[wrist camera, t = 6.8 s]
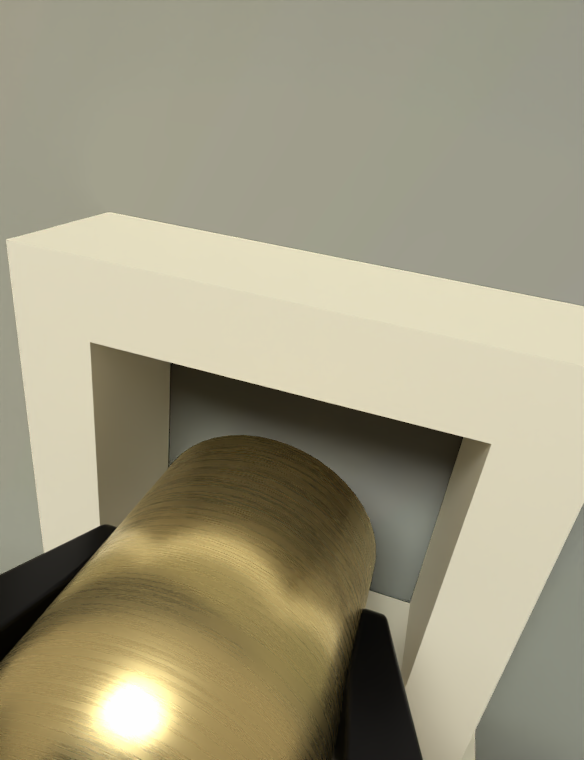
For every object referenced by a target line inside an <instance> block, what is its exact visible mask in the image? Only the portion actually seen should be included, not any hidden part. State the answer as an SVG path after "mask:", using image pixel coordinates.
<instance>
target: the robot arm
mask: <svg viewBox="0 0 584 760" xmlns="http://www.w3.org/2000/svg"><path fill="white" fill-rule="evenodd" d="M116 528H117V527H116V526H112V525H109V524H104V525H100V526H98V527H96V528H94V529H92V530H90V531H88V532H86V533H84V534H82V535H80V536H78V537H76V538H74V539H72V540H70V541H68V542H66V543H64V544H62V545H60V546H58V547H56V548H54V549H52V550H49V551H47V552H45V553H43V554H41V555H39V556H37V557H35V558H33V559H31V560H29V561H27V562H25V563H23V564H21V565H19V566H17V567H15V568H13V569H11V570H9V571H7V572H5V573H3V574H1V575H0V662H1V661H2V660H3V659H4V658H5V657H6V656H7V654H8V653H9V652H10V651H11V650H12V649H13V647H14V646H15V645H16V644H17V643H18V642H19V640H20V639H21V638H22V637H23V636H24V635H25V634H26V632H27V631H28V630H29V629H30V628H31V627H32V625H33V624H34V623H35V622H36V621H37V620H38V618H39V617H40V616H41V615H42V614H43V613H44V612H45V610H46V609H47V608H48V607H49V606H50V605H51V603H52V602H53V601H54V600H55V599H56V598H57V596H58V595H59V594H60V593H61V592H62V591H63V589H64V588H65V587H66V586H67V585H68V584H69V583H70V581H71V580H72V579H73V578H74V577H75V576H76V574H77V573H78V572H79V571H80V570H81V569H82V567H83V566H84V565H85V564H86V563H87V562H88V561H89V559H90V558H91V557H92V556H93V555H94V554H95V552H96V551H97V550H98V549H99V548H100V547H101V545H102V544H103V543H104V542H105V541H106V540H107V539H108V537H109V536H110V535H111V534H112V533H113V532H114V530H115V529H116ZM332 760H423V757H422V753H421V750H420V746H419V742H418V738H417V734H416V730H415V726H414V722H413V718H412V714H411V710H410V706H409V702H408V698H407V694H406V691H405V687H404V683H403V679H402V675H401V671H400V667H399V663H398V659H397V655H396V651H395V647H394V643H393V639H392V635H391V632H390V628H389V624H388V620H387V618H386V616H385V615H384V614H381V613H378V612H375V611H372V610H369V609H363V610H362V613H361V616H360V620H359V624H358V628H357V632H356V636H355V641H354V645H353V649H352V654H351V658H350V663H349V667H348V672H347V677H346V682H345V689H344V696H343V702H342V710H341V717H340V723H339V728H338V734H337V739H336V744H335V749H334V753H333V758H332Z"/></svg>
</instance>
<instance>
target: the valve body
mask: <svg viewBox="0 0 584 760" xmlns="http://www.w3.org/2000/svg"><path fill="white" fill-rule="evenodd" d="M6 243H7V252H8V260H9V268H10V276H11V285H12V293H13V301H14V309H15V318H16V326H17V334H18V342H19V351H20V359H21V367H22V375H23V384H24V392H25V400H26V408H27V417H28V425H29V433H30V441H31V450H32V458H33V466H34V475H35V483H36V491H37V499H38V508H39V516H40V524H41V532H42V541H43V549H44V553H45V552H47V551H49V550H52V549H54V548H56V547H58V546H60V545H62V544H64V543H66V542H68V541H70V540H72V539H74V538H76V537H78V536H80V535H82V534H84V533H86V532H88V531H90V530H92V529H94V528H96V527H98V526H100V525H104V524H109V525H112V526H116V527H118V526H119V525H120V523H121V522H122V521H123V520H124V519H125V518H126V517H127V515H128V514H129V513H130V512H131V511H132V510H133V508H134V507H135V506H136V505H137V504H138V503H139V501H140V500H141V499H142V498H143V497H144V496H145V495H146V493H147V492H148V491H149V490H150V489H151V488H152V486H153V485H154V484H155V483H156V482H157V481H158V479H159V478H160V477H161V476H162V475H163V474H164V472H165V471H166V470H167V469H168V452H169V404H170V362H171V363H174V364H178V365H182V366H186V367H190V368H194V369H198V370H202V371H206V372H210V373H214V374H218V375H222V376H226V377H230V378H234V379H237V380H241V381H245V382H249V383H253V384H257V385H261V386H265V387H269V388H273V389H277V390H281V391H285V392H289V393H293V394H297V395H300V396H304V397H308V398H312V399H316V400H320V401H324V402H328V403H332V404H336V405H340V406H344V407H348V408H352V409H356V410H360V411H364V412H367V413H371V414H375V415H379V416H383V417H387V418H391V419H395V420H399V421H403V422H407V423H411V424H415V425H419V426H423V427H427V428H430V429H434V430H438V431H442V432H446V433H450V434H454V435H458V436H462V437H463V440H462V443H461V446H460V449H459V453H458V456H457V459H456V462H455V465H454V468H453V471H452V474H451V477H450V481H449V484H448V487H447V490H446V493H445V496H444V499H443V502H442V505H441V508H440V512H439V515H438V518H437V521H436V524H435V527H434V530H433V533H432V536H431V539H430V543H429V546H428V549H427V552H426V555H425V558H424V561H423V564H422V567H421V571H420V574H419V577H418V580H417V583H416V586H415V589H414V592H413V595H412V598H411V602H410V603H407V602H404V601H401V600H398V599H395V598H392V597H388V596H385V595H382V594H379V593H376V592H373V591H370V590H369V593H368V598H367V602H366V607H365V609H369V610H372V611H375V612H378V613H381V614H384V615H385V616H386V618H387V620H388V624H389V628H390V632H391V635H392V639H393V643H394V647H395V651H396V655H397V659H398V663H399V667H400V671H401V675H402V679H403V683H404V687H405V691H406V694H407V698H408V702H409V706H410V710H411V714H412V718H413V722H414V726H415V730H416V734H417V738H418V742H419V746H420V750H421V753H422V757H423V760H475V729H476V727H477V725H478V723H479V721H480V719H481V717H482V715H483V713H484V711H485V709H486V706H487V704H488V702H489V700H490V698H491V696H492V694H493V692H494V690H495V688H496V685H497V683H498V681H499V679H500V677H501V675H502V673H503V671H504V669H505V667H506V665H507V662H508V660H509V658H510V656H511V654H512V652H513V650H514V648H515V646H516V644H517V641H518V639H519V637H520V635H521V633H522V631H523V629H524V627H525V625H526V623H527V621H528V618H529V616H530V614H531V612H532V610H533V608H534V606H535V604H536V602H537V600H538V597H539V595H540V593H541V591H542V589H543V587H544V585H545V583H546V581H547V579H548V576H549V574H550V572H551V570H552V568H553V566H554V564H555V562H556V560H557V558H558V556H559V553H560V551H561V549H562V547H563V545H564V543H565V541H566V539H567V537H568V535H569V532H570V530H571V528H572V526H573V524H574V522H575V520H576V518H577V516H578V514H579V512H580V509H581V507H582V505H583V503H584V306H579V305H574V304H569V303H564V302H559V301H554V300H549V299H544V298H539V297H534V296H529V295H524V294H519V293H514V292H509V291H504V290H499V289H494V288H489V287H484V286H479V285H474V284H469V283H464V282H459V281H454V280H449V279H444V278H439V277H434V276H429V275H423V274H418V273H413V272H408V271H403V270H398V269H393V268H388V267H383V266H378V265H373V264H368V263H363V262H358V261H353V260H348V259H343V258H338V257H333V256H328V255H323V254H318V253H313V252H308V251H303V250H298V249H293V248H288V247H283V246H278V245H273V244H268V243H263V242H258V241H252V240H247V239H242V238H237V237H232V236H227V235H222V234H217V233H212V232H207V231H202V230H197V229H192V228H187V227H182V226H177V225H172V224H167V223H162V222H157V221H152V220H147V219H142V218H137V217H132V216H127V215H122V214H117V213H112V212H108V213H104V214H100V215H96V216H93V217H89V218H85V219H81V220H78V221H74V222H70V223H67V224H63V225H59V226H55V227H52V228H48V229H44V230H40V231H37V232H33V233H29V234H25V235H22V236H18V237H14V238H10V239H7V240H6Z"/></svg>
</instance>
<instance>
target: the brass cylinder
mask: <svg viewBox="0 0 584 760" xmlns="http://www.w3.org/2000/svg"><path fill="white" fill-rule="evenodd" d="M375 559H376V544H375V538H374V532H373V529H372V526H371V523H370V520H369V518H368V516H367V514H366V512H365V510H364V507H363V506H362V504H361V503H360V501H359V500H358V498H357V497H356V495H355V494H354V492H353V491H352V490H351V489H350V488H349V487H348V485H347V484H346V483H345V482H344V481H343V480H342V479H341V478H340V477H339V476H338V475H337V474H336V473H334V472H333V471H332V470H331V469H330V468H328V467H327V466H326V465H324V464H323V463H322V462H320V461H319V460H317V459H316V458H314V457H312V456H310V455H309V454H307V453H305V452H303V451H301V450H299V449H297V448H295V447H293V446H290V445H288V444H285V443H282V442H279V441H276V440H272V439H267V438H262V437H257V436H247V435H231V436H223V437H217V438H213V439H209V440H206V441H203V442H201V443H199V444H197V445H194V446H192V447H191V448H189V449H188V450H186V451H185V452H184V453H182V454H181V455H180V456H179V457H178V458H177V459H176V460H175V461H174V462H173V463H172V464H171V466H170V467H169V468H168V469H167V470H166V471H165V472H164V474H163V475H162V476H161V477H160V478H159V479H158V481H157V482H156V483H155V484H154V485H153V486H152V488H151V489H150V490H149V491H148V492H147V493H146V495H145V496H144V497H143V498H142V499H141V500H140V501H139V503H138V504H137V505H136V506H135V507H134V508H133V510H132V511H131V512H130V513H129V514H128V515H127V517H126V518H125V519H124V520H123V521H122V522H121V523H120V525H119V526H118V527H117V528H116V529H115V530H114V532H113V533H112V534H111V535H110V536H109V537H108V539H107V540H106V541H105V542H104V543H103V544H102V545H101V547H100V548H99V549H98V550H97V551H96V552H95V554H94V555H93V556H92V557H91V558H90V559H89V561H88V562H87V563H86V564H85V565H84V566H83V567H82V569H81V570H80V571H79V572H78V573H77V574H76V576H75V577H74V578H73V579H72V580H71V581H70V583H69V584H68V585H67V586H66V587H65V588H64V589H63V591H62V592H61V593H60V594H59V595H58V596H57V598H56V599H55V600H54V601H53V602H52V603H51V605H50V606H49V607H48V608H47V609H46V610H45V612H44V613H43V614H42V615H41V616H40V617H39V618H38V620H37V621H36V622H35V623H34V624H33V625H32V627H31V628H30V629H29V630H28V631H27V632H26V634H25V635H24V636H23V637H22V638H21V639H20V640H19V642H18V643H17V644H16V645H15V646H14V647H13V649H12V650H11V651H10V652H9V653H8V654H7V656H6V657H5V658H4V659H3V660H2V661H1V662H0V760H332V758H333V753H334V749H335V744H336V739H337V734H338V728H339V723H340V717H341V710H342V702H343V696H344V689H345V682H346V677H347V672H348V667H349V663H350V658H351V654H352V649H353V645H354V641H355V636H356V632H357V628H358V624H359V620H360V616H361V613H362V610H363V609H365V607H366V602H367V598H368V593H369V589H370V584H371V580H372V575H373V570H374V565H375Z"/></svg>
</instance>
